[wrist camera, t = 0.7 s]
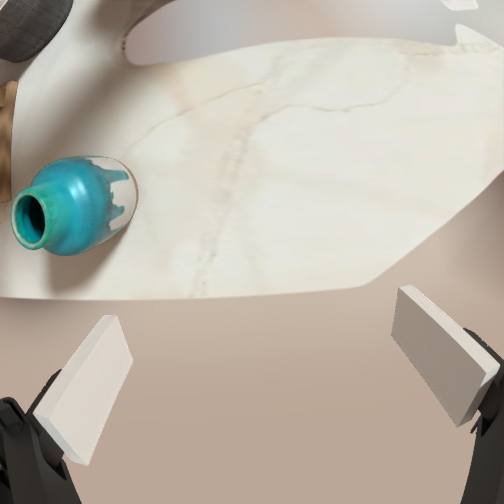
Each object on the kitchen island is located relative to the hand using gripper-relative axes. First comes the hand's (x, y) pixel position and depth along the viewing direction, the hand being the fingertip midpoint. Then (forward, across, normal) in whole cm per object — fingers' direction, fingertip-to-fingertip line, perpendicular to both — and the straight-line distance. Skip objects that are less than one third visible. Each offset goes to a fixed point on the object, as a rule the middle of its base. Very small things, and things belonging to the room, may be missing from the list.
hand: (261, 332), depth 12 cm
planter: (+28, -36, +44) cm, 63 cm away
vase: (+27, -18, +6) cm, 34 cm away
